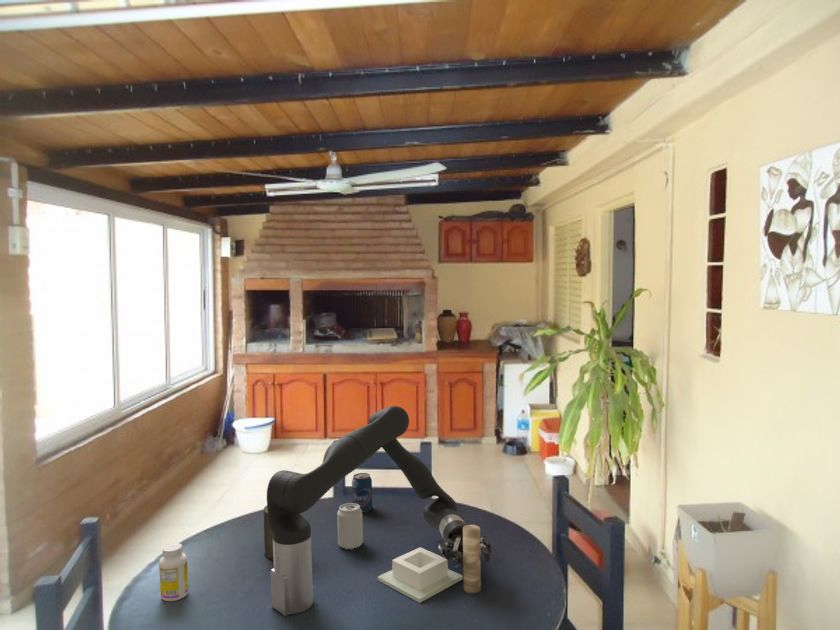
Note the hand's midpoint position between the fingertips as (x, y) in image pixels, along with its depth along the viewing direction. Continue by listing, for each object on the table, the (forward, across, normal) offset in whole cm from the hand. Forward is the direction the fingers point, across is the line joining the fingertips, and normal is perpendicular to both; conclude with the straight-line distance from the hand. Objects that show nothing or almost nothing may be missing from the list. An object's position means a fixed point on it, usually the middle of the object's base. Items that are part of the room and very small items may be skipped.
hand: (474, 559), depth 152 cm
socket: (-10, -12, +9) cm, 18 cm away
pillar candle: (-37, -48, +9) cm, 61 cm away
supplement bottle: (-19, -74, +9) cm, 77 cm away
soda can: (-63, -20, +9) cm, 66 cm away
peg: (-2, 0, +9) cm, 9 cm away
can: (-36, -27, +9) cm, 46 cm away
